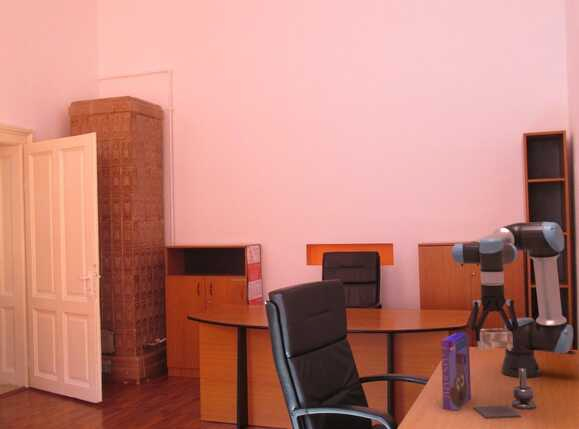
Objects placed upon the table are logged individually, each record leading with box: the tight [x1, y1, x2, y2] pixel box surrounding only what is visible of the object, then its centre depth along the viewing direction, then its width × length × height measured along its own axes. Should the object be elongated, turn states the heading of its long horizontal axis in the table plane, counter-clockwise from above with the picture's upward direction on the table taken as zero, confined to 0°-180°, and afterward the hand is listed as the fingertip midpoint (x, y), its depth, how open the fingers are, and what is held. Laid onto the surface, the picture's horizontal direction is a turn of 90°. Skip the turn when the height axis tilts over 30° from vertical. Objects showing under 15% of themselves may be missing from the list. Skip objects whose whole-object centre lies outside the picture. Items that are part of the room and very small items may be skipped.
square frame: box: [476, 327, 513, 350], centre depth 206 cm, size 9×9×5 cm
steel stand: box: [511, 368, 537, 410], centre depth 212 cm, size 8×8×13 cm
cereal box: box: [440, 331, 472, 412], centre depth 217 cm, size 17×5×24 cm, turn 148°
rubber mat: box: [473, 404, 522, 419], centre depth 206 cm, size 12×11×1 cm
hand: (494, 350), depth 206 cm, fingers closed on square frame, 9 cm apart
